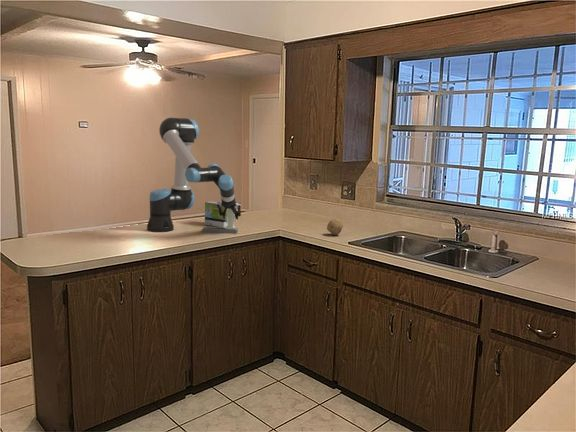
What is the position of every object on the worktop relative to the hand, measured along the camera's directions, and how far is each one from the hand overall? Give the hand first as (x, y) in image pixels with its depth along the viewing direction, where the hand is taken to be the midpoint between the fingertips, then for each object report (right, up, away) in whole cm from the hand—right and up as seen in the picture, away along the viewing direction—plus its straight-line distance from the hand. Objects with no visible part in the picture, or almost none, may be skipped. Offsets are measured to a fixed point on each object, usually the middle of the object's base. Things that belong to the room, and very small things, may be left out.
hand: (231, 221), depth 277 cm
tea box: (-10, -3, +17) cm, 20 cm away
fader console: (-6, -6, -3) cm, 9 cm away
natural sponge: (+61, -8, 0) cm, 61 cm away
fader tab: (0, -4, -3) cm, 5 cm away
